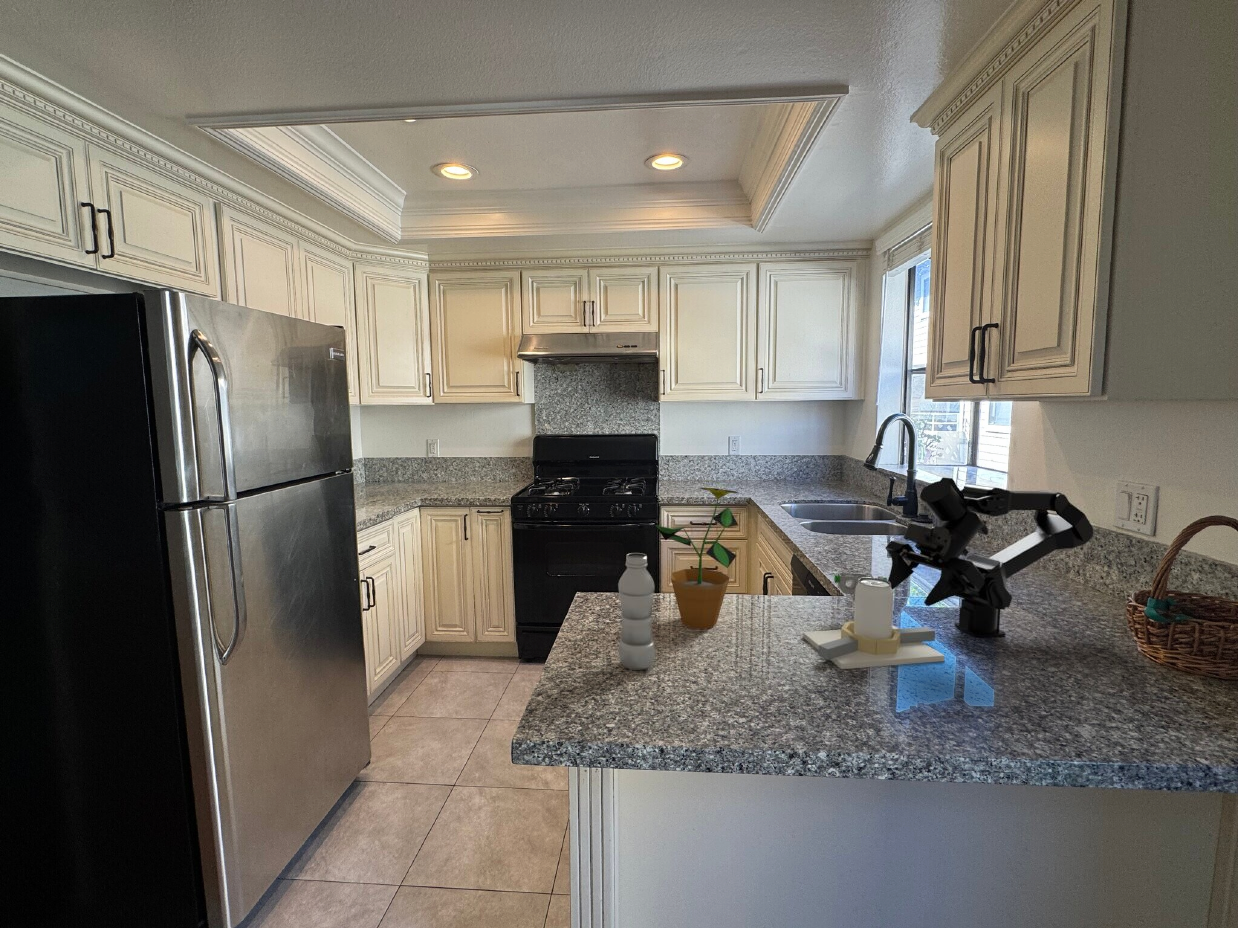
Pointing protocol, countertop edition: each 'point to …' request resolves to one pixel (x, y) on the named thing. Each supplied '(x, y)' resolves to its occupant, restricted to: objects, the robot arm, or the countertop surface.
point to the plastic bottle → (636, 614)
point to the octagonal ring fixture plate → (874, 647)
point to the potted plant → (702, 574)
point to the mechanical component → (850, 589)
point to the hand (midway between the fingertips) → (906, 596)
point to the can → (873, 608)
